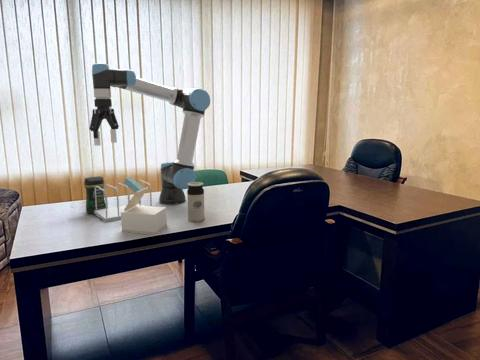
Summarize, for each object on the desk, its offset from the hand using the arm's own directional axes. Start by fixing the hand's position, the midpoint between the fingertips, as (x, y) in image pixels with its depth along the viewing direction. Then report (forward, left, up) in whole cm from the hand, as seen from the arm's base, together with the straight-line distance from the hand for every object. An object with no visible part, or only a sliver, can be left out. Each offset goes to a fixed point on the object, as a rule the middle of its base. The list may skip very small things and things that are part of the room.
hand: (106, 144), depth 179 cm
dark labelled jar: (-27, +33, -37) cm, 56 cm away
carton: (-2, +27, -37) cm, 46 cm away
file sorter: (-8, -2, -37) cm, 38 cm away
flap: (0, +24, -23) cm, 33 cm away
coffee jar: (0, -16, -37) cm, 40 cm away
